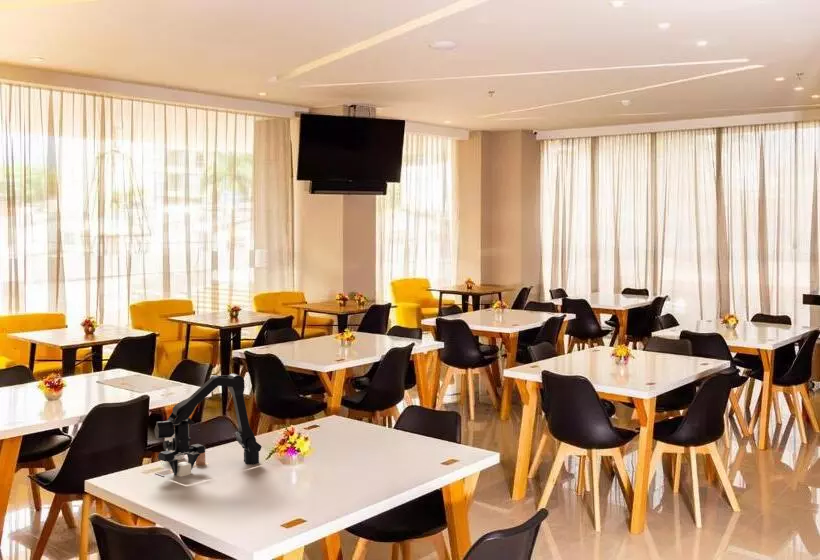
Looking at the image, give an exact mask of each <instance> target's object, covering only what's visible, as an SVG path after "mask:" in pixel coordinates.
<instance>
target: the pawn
mask: <svg viewBox="0 0 820 560" xmlns="http://www.w3.org/2000/svg"><path fill="white" fill-rule="evenodd" d="M198 454H199V453H198ZM205 462H206V452H205V453H201V454H200V456H198V458H197V459H196V461H195V463H196V465H203V466H205V465H204V464H205ZM196 465H195V466H196Z"/></svg>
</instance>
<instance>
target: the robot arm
mask: <svg viewBox="0 0 820 560" xmlns="http://www.w3.org/2000/svg"><path fill="white" fill-rule="evenodd" d="M245 386H246V385H245V379H244V377H243V376H241V375H239V374H237V373H230V374H227V375H226V374H225V375H215V374H214V375H212V376H210V377H209V379H208V380H207V381H206V382H205V383H204V384H202V385H201V386H200V387H199V388H198V389H197V390H196V391H195V392H193V394H191V395H190V396H189V397H188V398H186V399H184V400H181V401H179V402H178V403H177V404H174V406H173V407H172V412H171V413H170V414H169V416H168V418H167V420H165V421H164V420H163V421H156V422H155V424H156V425H155V427H154V436H155V439H156V440H158V439H159V440H160V439H165V438H168V437H172V436H173V435H174V433H175V438H173V439H172V442H169V440H167V441H165V440H164V441H163V442H162V447H163V450H164V451H160V452H159V453H158V455H157V457H158V458H157V459H158V460H159V461H163V462H167V463H168V464H169V465H170V467H171V468H170V469H172V470H173V473H172V474H173V475H174V476H177V465H178V463H179V460H177V459H176V456H179V455H183V454H184V455H187V463H190V464H191V471H193V465H194V463H196V459H197V458H198V456H200V454H201V453H205V454H206V446H205V445H203V444H200V443H196V444H191V445H190V441H192V437H190V426H189V425H193V424H195V421H194V420H192V419H191V418H190V416H191V415H193V413H194V411H195V409H196V407H197V406H198V405H199V404H200V403H201V402H202V401H203V400H204V399H205V398H206V397H208V396H209V395H210V394H211V393H212V392H213V391H215V390H216V389H217V388H218V387H227V389H228V391H229V392H230V394H231V396H232V401H233V406H234V410H235V415H236V420H237V424H238V430H237V431H234V434H235V436H236V439H235V440H236V441H235V442H237V443H238V444H239V445H240V446H241V447H242V449H243V463H244V464H245V465H251V466H252V465H253V466H254V465H257V464H259V463H260V452H261V449H262V445H261V444H259V442H258V441H257V439H256V436H255V434H254V431H253V430H252V427H251V426H250V423H249V422H250V421H249V416H248V411H247V406H246V402H245V396H244V393H245ZM166 449H168V451H166ZM170 450H172V451H175V452H170ZM198 453H199V454H198Z"/></svg>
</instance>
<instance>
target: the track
mask: <svg viewBox="0 0 820 560" xmlns="http://www.w3.org/2000/svg"><path fill="white" fill-rule="evenodd" d="M209 464H210V463H208V462H207V461H205V464H204V465H196V462H195V463H194V465H193V468H198V467H203V466H207V465H209ZM193 468H192V469H193ZM170 474H174V473H173V470H172V468H170V469H165V470H162V471H158V472H156V473H154V475H155V476H158V477H161V478H165V476H166V475H170Z"/></svg>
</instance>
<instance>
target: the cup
mask: <svg viewBox="0 0 820 560" xmlns="http://www.w3.org/2000/svg"><path fill="white" fill-rule="evenodd" d="M173 438H175V433H174V435H173V436H172V437H168V438H164V441H167V440H169V442H172V439H173ZM165 451H168V449H165ZM170 452H175V451H172V450H170ZM176 459H177V460H178V461H181V460H183V459H185V454H183V455H179V456H176Z"/></svg>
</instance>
